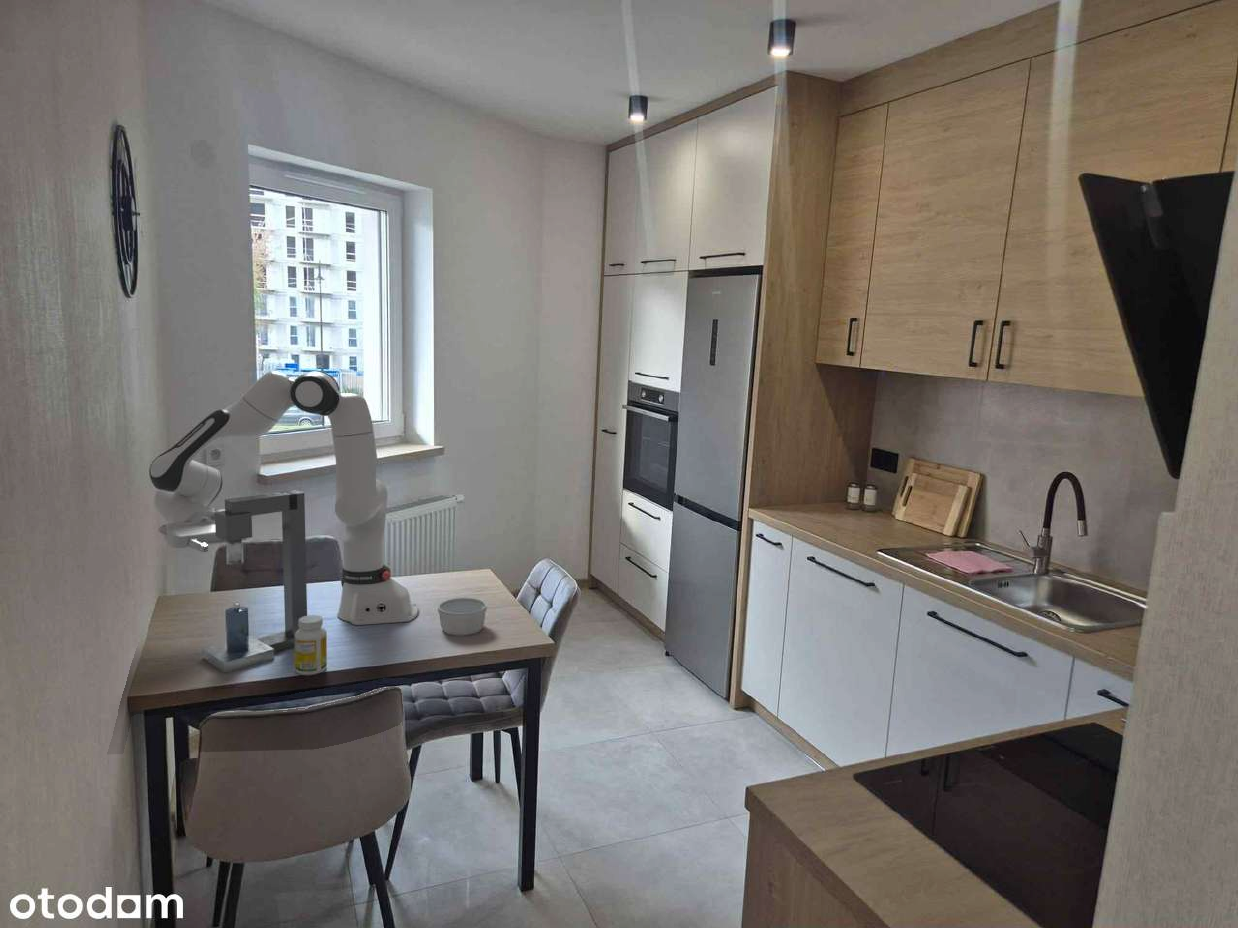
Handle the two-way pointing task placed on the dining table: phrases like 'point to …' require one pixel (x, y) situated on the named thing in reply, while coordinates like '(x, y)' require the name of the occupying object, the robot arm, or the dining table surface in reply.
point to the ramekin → (462, 616)
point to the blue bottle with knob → (237, 629)
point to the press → (239, 526)
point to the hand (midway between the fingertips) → (223, 547)
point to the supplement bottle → (310, 646)
